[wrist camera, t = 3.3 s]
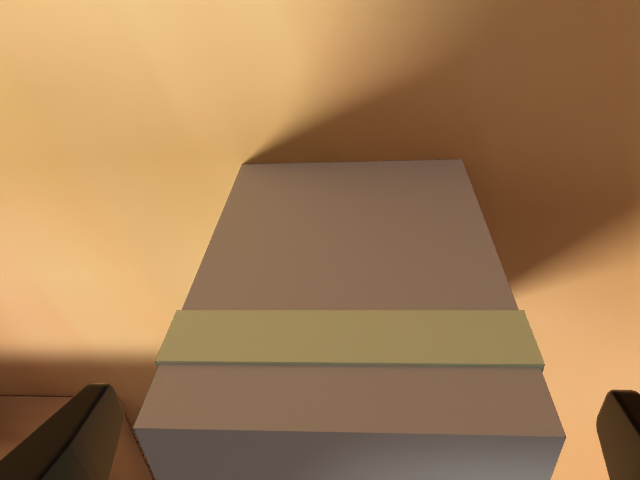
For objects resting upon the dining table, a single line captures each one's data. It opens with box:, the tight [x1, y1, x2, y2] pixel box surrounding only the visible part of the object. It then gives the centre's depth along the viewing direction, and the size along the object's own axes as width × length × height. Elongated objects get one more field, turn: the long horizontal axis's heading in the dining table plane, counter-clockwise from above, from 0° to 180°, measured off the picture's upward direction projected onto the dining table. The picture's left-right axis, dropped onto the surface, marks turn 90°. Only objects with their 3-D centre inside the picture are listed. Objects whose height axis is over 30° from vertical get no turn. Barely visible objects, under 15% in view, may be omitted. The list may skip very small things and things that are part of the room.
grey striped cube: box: [133, 159, 566, 480], centre depth 10 cm, size 5×5×7 cm
